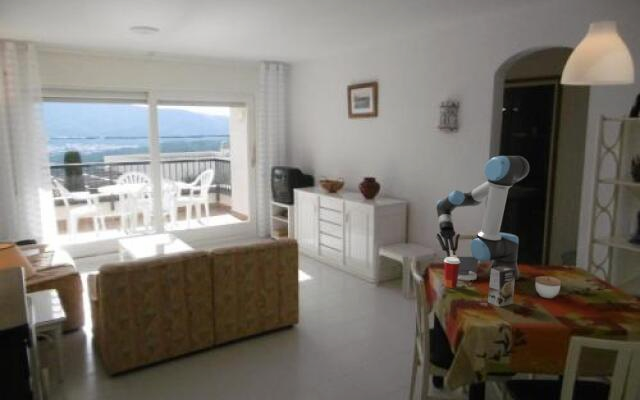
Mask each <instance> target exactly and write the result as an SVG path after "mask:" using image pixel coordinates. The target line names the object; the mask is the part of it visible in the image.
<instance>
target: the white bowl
mask: <svg viewBox="0 0 640 400" xmlns="http://www.w3.org/2000/svg"><path fill="white" fill-rule="evenodd" d="M534 279H535V284H534V285H535V290H536V293H538V294H539V296H540V297H541V298H546V299H553V298H554V297H556V296H557V295H559V292H560V291H561V285H562V281H561V280H560V279H558V278H554V277H551V276H549V275H548V276H543V275H542V276H536V277H535V278H534Z"/></svg>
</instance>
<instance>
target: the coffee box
mask: <svg viewBox="0 0 640 400" xmlns="http://www.w3.org/2000/svg"><path fill="white" fill-rule="evenodd" d="M515 272H516V269H513V268H510V267H506V266H501V267H495V268H491V274H490V276H489V277H490V278H489V287H488V288H489V289H488V297H487V298H488V300H487V302H488V303H489V304H491V305H494V306H496V307H504V306H508V305H512V304H513V303H514V292H515V283H516V282H515V281H516V280H515Z"/></svg>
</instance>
